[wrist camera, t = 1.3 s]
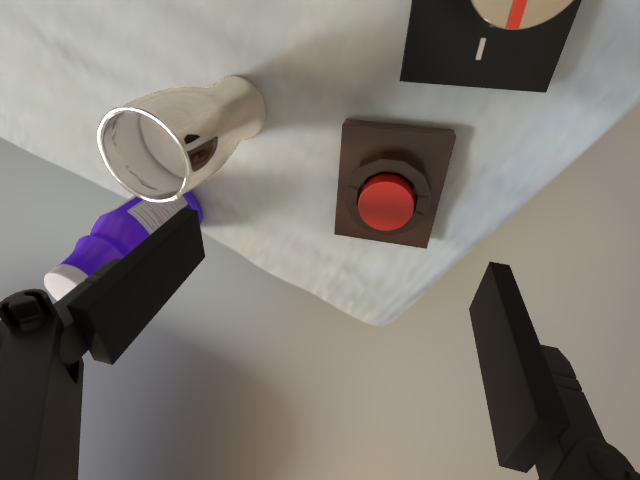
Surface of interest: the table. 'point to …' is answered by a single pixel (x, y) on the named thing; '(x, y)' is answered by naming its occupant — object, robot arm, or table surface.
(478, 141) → the table surface
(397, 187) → the button
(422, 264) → the table surface
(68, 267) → the bottle
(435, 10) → the timer panel
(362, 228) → the box
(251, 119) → the beer glass
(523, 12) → the timer dial
